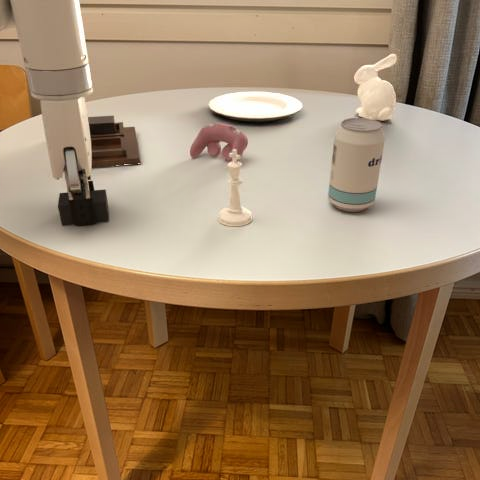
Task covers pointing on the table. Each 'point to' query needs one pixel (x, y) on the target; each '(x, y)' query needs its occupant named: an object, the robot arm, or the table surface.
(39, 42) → the robot arm
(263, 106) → the plate
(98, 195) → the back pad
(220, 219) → the chess piece
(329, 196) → the beverage can
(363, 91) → the rabbit
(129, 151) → the brown stepped block
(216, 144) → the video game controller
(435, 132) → the table surface
